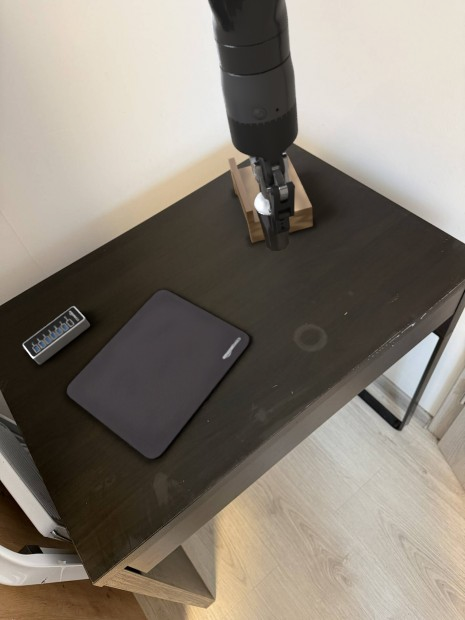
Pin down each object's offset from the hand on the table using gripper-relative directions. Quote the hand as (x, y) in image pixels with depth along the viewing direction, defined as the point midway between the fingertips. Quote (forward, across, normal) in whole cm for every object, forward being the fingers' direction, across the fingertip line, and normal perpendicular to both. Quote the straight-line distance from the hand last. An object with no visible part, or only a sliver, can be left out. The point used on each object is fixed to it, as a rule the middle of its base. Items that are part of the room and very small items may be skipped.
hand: (275, 216), depth 63 cm
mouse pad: (+21, -4, +23) cm, 32 cm away
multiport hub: (+21, +7, +40) cm, 46 cm away
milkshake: (+6, 0, 0) cm, 6 cm away
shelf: (+21, +24, -4) cm, 33 cm away
